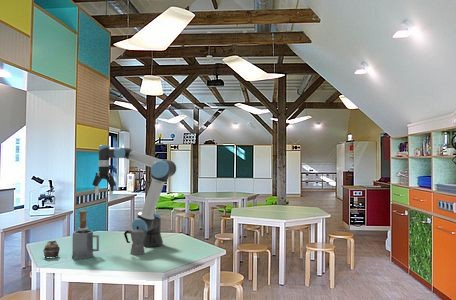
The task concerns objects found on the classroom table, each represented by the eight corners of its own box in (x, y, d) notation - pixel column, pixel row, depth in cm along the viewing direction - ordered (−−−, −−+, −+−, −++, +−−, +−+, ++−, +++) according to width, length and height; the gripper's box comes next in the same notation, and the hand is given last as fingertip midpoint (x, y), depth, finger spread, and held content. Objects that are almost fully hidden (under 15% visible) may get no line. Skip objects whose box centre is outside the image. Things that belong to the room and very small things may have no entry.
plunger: (92, 246, 252) (92, 210, 252) (82, 249, 244) (82, 211, 245) (83, 245, 255) (83, 209, 256) (73, 247, 248) (73, 211, 249)
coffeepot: (147, 251, 264) (147, 224, 264) (148, 254, 255) (148, 227, 255) (123, 252, 259) (123, 226, 260) (124, 256, 250) (124, 228, 251)
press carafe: (100, 255, 252) (100, 231, 252) (85, 260, 240) (85, 234, 240) (83, 253, 258) (83, 229, 259) (67, 257, 247) (67, 232, 247)
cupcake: (41, 256, 250) (41, 241, 251) (57, 254, 256) (57, 239, 256) (45, 259, 243) (45, 243, 243) (61, 257, 249) (61, 241, 249)
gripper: (87, 166, 284) (87, 195, 283) (113, 166, 273) (113, 196, 272) (95, 166, 290) (94, 194, 290) (120, 166, 280) (120, 195, 279)
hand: (103, 195), depth 281 cm, fingers open, 13 cm apart
